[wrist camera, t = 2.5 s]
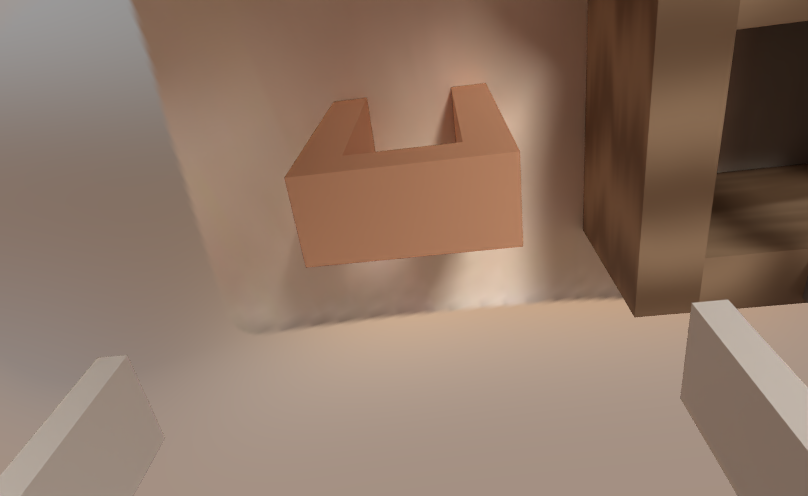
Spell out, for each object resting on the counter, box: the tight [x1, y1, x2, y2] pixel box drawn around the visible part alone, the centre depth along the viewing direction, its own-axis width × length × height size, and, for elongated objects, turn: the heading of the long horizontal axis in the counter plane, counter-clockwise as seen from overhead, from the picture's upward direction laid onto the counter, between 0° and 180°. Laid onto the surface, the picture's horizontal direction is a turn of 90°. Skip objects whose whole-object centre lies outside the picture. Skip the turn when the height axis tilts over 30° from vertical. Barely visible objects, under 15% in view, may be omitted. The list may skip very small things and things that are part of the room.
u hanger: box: [285, 83, 523, 268], centre depth 28 cm, size 4×9×13 cm, turn 97°
